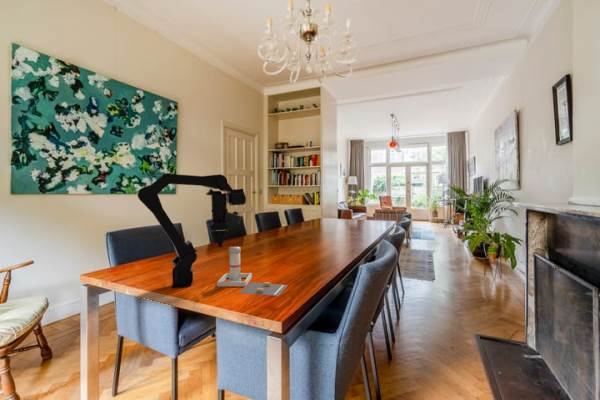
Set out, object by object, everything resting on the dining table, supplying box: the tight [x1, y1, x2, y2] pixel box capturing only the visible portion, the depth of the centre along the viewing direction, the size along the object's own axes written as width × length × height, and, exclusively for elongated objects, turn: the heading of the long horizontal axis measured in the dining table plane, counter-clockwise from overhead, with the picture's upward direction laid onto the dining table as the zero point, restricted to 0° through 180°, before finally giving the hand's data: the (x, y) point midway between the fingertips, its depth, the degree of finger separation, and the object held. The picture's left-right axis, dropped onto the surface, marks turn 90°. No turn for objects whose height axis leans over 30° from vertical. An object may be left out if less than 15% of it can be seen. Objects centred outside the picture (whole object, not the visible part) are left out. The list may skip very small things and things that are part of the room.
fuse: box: [228, 246, 242, 281], centre depth 101 cm, size 4×4×13 cm
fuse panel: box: [238, 281, 288, 297], centre depth 93 cm, size 14×10×2 cm
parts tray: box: [216, 272, 253, 287], centre depth 101 cm, size 10×10×2 cm
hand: (220, 245), depth 109 cm, fingers open, 9 cm apart
